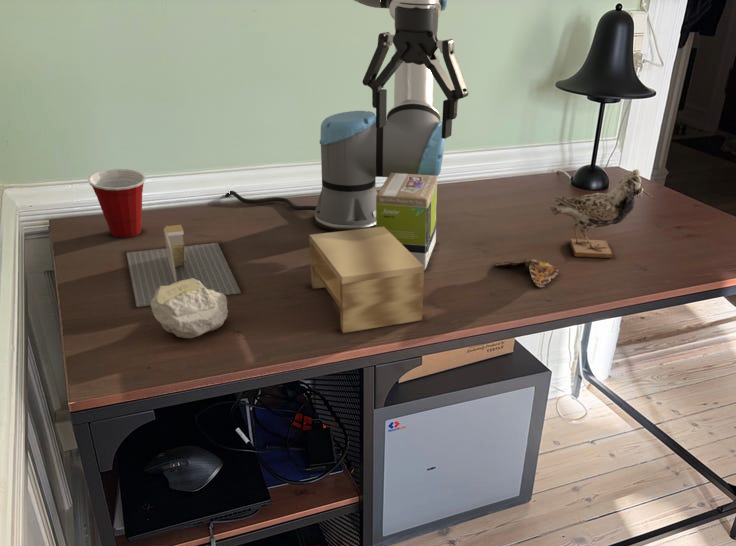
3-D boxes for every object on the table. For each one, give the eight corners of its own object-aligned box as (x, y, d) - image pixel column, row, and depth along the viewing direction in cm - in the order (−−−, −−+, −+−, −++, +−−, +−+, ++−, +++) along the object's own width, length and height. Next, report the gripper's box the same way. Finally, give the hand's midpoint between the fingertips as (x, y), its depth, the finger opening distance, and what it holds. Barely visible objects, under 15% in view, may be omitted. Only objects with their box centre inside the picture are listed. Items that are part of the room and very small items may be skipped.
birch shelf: (343, 333, 120) (341, 277, 115) (311, 286, 135) (309, 234, 130) (422, 320, 125) (424, 266, 120) (383, 276, 140) (383, 226, 135)
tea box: (389, 239, 156) (390, 170, 149) (436, 243, 155) (439, 174, 148) (375, 267, 143) (375, 193, 136) (426, 271, 142) (429, 197, 135)
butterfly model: (539, 288, 138) (540, 273, 136) (494, 266, 146) (495, 251, 144) (570, 277, 143) (572, 263, 141) (524, 257, 151) (526, 243, 149)
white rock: (243, 321, 122) (191, 316, 125) (236, 273, 119) (183, 269, 122) (202, 350, 112) (146, 343, 115) (194, 298, 108) (136, 292, 111)
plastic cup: (110, 246, 147) (99, 187, 140) (90, 230, 153) (79, 173, 147) (163, 235, 153) (154, 178, 147) (141, 220, 160) (132, 165, 154)
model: (185, 260, 142) (180, 222, 139) (193, 282, 134) (188, 242, 130) (168, 262, 141) (162, 223, 137) (175, 284, 133) (169, 244, 129)
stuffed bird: (645, 256, 154) (662, 175, 146) (559, 263, 149) (570, 179, 140) (621, 238, 162) (635, 161, 154) (538, 245, 157) (548, 165, 148)
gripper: (342, 1, 128) (345, 126, 138) (475, 13, 119) (466, 145, 130) (364, -2, 133) (365, 118, 144) (492, 10, 125) (482, 137, 136)
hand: (413, 131), depth 137 cm, fingers open, 13 cm apart
